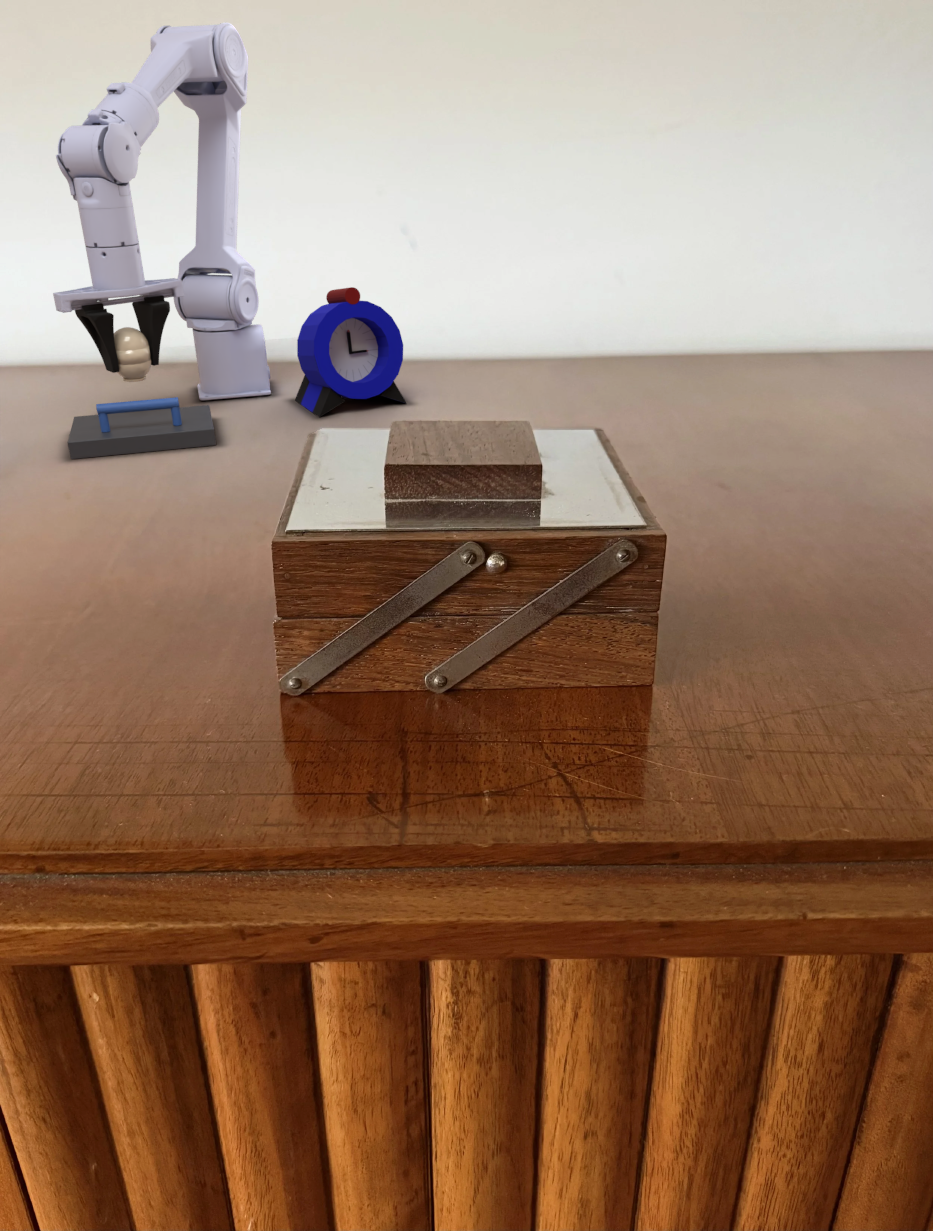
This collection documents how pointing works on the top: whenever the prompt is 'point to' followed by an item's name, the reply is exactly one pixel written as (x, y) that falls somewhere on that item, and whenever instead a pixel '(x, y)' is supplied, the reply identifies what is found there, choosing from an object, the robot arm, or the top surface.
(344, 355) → the alarm clock
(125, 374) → the lidded jar
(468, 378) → the top surface
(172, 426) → the handle board
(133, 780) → the top surface
